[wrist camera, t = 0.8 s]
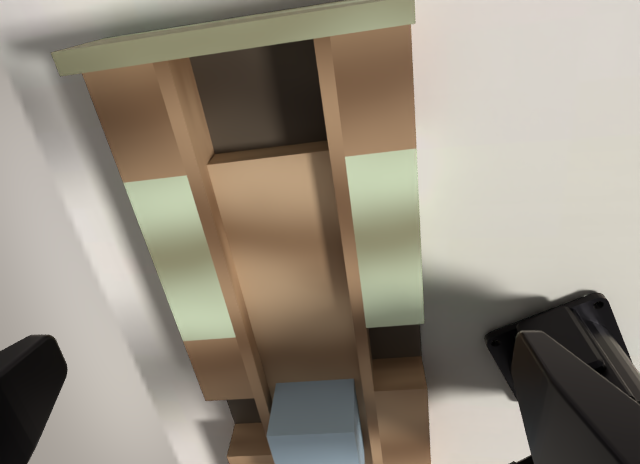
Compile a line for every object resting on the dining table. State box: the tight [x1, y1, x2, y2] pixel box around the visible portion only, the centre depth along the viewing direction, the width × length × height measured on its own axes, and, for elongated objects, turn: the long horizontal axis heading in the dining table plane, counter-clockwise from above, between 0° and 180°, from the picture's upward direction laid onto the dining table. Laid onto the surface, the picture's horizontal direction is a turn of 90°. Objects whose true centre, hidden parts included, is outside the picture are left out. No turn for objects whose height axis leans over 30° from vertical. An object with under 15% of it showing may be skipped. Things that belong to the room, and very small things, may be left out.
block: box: [266, 379, 365, 464], centre depth 26 cm, size 6×4×4 cm
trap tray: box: [51, 0, 431, 464], centre depth 24 cm, size 30×12×4 cm, turn 8°
